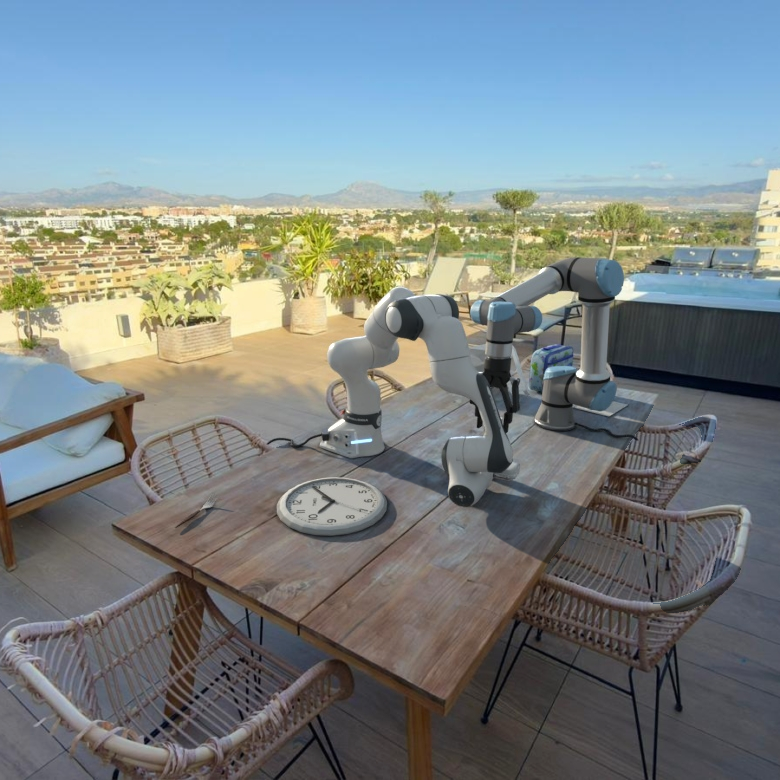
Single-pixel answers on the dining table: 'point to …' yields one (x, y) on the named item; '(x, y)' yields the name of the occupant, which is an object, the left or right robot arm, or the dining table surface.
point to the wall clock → (331, 506)
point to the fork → (206, 505)
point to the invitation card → (609, 411)
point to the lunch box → (548, 363)
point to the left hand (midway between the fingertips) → (490, 454)
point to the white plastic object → (479, 359)
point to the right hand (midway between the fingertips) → (492, 429)
